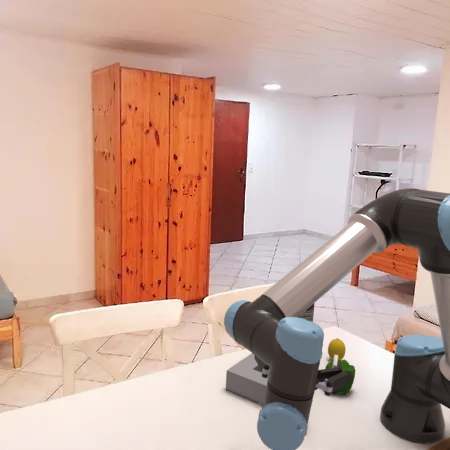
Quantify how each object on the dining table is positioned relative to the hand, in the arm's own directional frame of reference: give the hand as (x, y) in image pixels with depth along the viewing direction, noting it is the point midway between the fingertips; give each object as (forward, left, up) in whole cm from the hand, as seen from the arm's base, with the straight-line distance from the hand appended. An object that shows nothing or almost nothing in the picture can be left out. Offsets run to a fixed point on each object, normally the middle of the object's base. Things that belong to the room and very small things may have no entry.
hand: (305, 352), depth 103 cm
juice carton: (+19, -33, -22) cm, 44 cm away
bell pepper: (+1, -28, -22) cm, 36 cm away
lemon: (+8, -44, -22) cm, 50 cm away
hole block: (+18, -15, -22) cm, 32 cm away
